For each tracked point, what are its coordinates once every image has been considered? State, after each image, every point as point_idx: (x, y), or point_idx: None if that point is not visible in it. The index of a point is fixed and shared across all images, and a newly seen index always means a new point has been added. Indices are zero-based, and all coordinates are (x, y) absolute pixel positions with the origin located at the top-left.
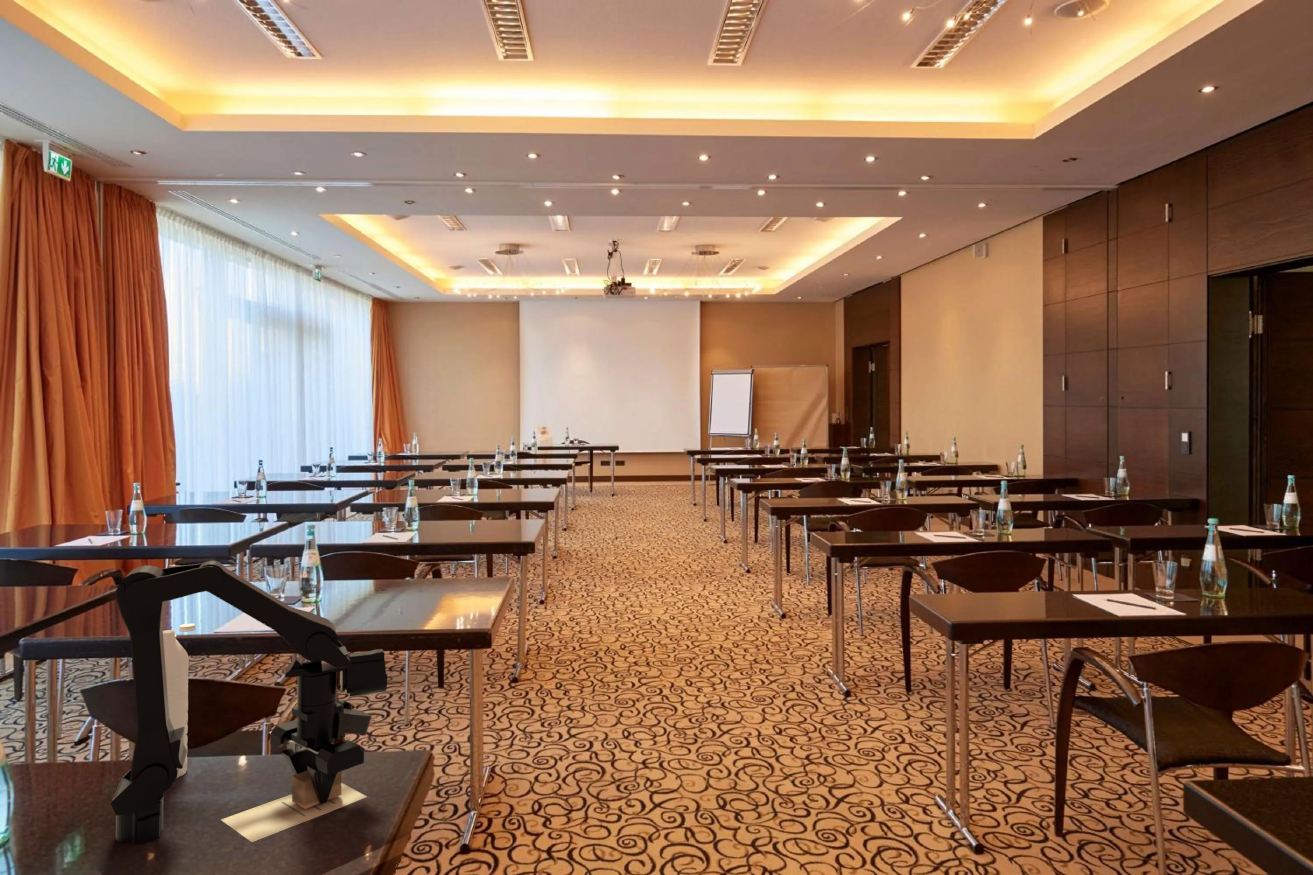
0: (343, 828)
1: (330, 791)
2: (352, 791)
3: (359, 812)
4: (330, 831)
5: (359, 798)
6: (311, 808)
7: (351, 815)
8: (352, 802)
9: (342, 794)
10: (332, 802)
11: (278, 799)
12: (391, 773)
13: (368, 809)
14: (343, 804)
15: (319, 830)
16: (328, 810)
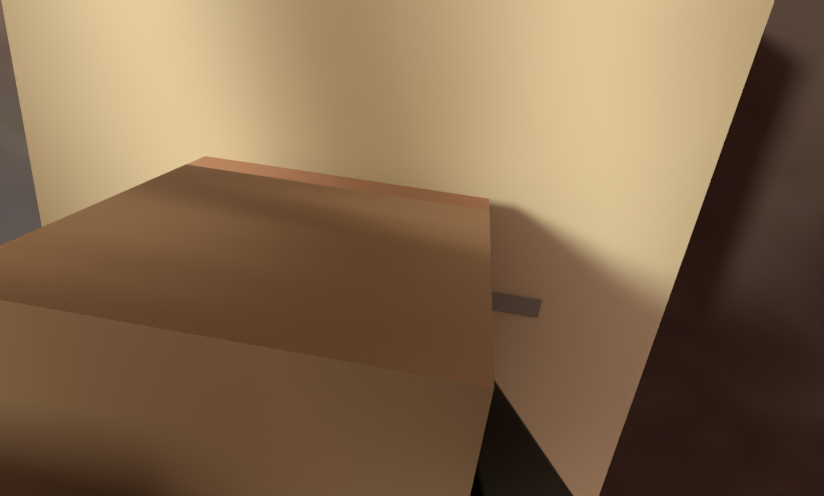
0: (801, 390)
1: (524, 425)
2: (472, 11)
3: (737, 146)
4: (732, 453)
5: (707, 94)
6: None
7: (704, 223)
8: (696, 202)
9: (436, 134)
10: (502, 306)
11: None
12: None
13: (786, 51)
14: (635, 277)
15: (642, 472)
16: (595, 412)
